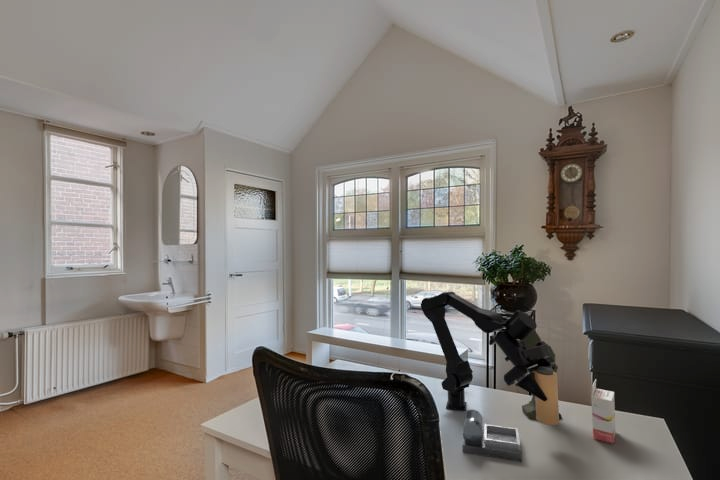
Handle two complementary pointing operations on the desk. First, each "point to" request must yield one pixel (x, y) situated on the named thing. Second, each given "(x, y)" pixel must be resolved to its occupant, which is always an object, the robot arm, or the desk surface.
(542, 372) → the bottle
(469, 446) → the motor mount
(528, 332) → the robot arm
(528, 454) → the desk surface
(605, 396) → the ink cartridge box
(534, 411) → the mechanical leg
